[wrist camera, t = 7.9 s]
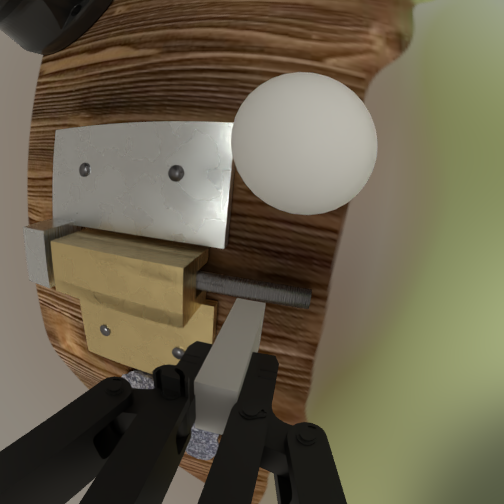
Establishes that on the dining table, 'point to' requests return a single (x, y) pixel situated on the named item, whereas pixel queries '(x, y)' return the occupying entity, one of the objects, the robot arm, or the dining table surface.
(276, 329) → the dining table surface
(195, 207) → the zinc leaf
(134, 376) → the rock
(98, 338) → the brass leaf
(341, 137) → the lightbulb
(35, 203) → the dining table surface
